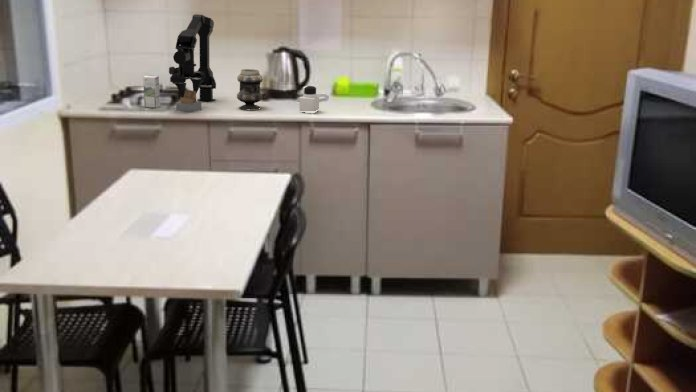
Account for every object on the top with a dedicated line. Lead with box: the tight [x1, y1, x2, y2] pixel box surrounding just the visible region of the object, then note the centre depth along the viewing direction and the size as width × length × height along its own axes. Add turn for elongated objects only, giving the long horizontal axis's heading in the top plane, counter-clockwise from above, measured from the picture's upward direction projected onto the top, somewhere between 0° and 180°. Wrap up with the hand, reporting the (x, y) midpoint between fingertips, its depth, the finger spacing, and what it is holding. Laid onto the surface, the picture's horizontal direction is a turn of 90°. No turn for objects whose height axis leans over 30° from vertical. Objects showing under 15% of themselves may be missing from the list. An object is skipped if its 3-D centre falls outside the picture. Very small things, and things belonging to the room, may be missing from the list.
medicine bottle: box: [299, 85, 320, 111], centre depth 345 cm, size 7×7×12 cm
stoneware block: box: [175, 100, 203, 113], centre depth 340 cm, size 8×8×4 cm
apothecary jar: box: [236, 68, 264, 110], centre depth 347 cm, size 12×12×18 cm
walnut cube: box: [180, 89, 197, 104], centre depth 339 cm, size 5×5×5 cm
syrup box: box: [142, 74, 161, 109], centre depth 343 cm, size 6×6×14 cm
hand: (188, 95), depth 339 cm, fingers open, 9 cm apart
